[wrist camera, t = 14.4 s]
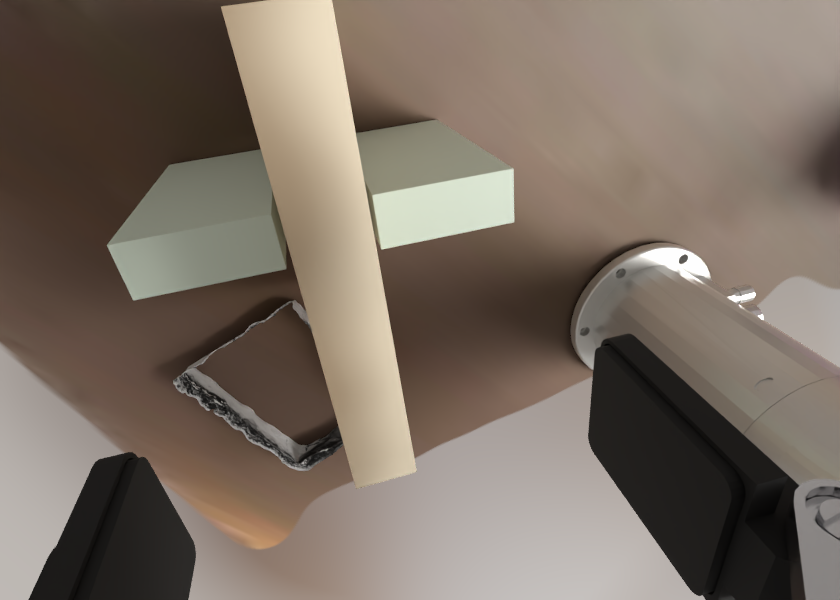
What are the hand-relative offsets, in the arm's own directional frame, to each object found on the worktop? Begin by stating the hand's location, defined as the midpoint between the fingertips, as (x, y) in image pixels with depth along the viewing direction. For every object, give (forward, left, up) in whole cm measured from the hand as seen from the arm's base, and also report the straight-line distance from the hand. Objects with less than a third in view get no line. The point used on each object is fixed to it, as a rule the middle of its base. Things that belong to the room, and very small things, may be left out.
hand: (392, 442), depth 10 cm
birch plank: (0, 0, -24) cm, 24 cm away
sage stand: (0, 0, -24) cm, 24 cm away
